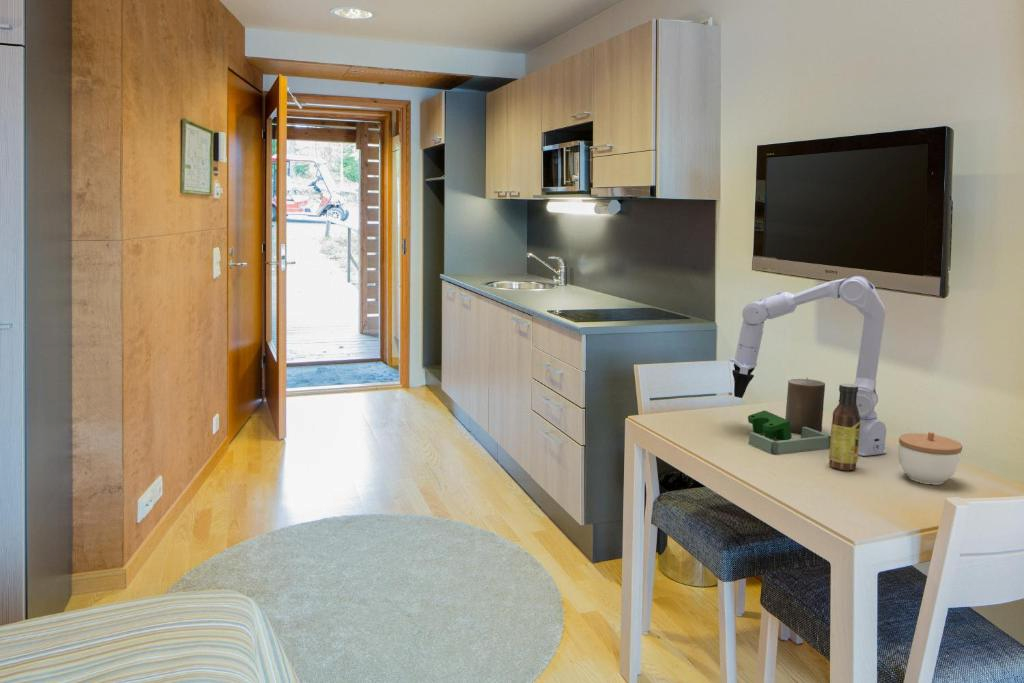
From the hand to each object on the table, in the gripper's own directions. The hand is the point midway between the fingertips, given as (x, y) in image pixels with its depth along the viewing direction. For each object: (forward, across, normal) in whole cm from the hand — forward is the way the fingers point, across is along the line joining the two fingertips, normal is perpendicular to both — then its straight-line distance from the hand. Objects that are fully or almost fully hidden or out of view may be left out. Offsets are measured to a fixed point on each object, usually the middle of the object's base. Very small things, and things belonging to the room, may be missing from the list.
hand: (738, 393), depth 213 cm
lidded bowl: (+4, +27, +43) cm, 51 cm away
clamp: (+9, +4, +10) cm, 14 cm away
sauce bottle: (+7, +24, +26) cm, 36 cm away
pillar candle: (+8, -7, +19) cm, 22 cm away
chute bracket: (+8, +10, +14) cm, 19 cm away
